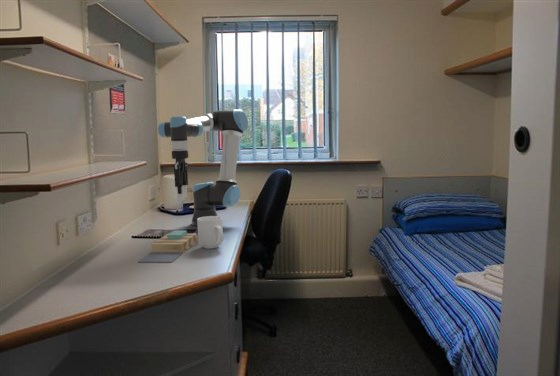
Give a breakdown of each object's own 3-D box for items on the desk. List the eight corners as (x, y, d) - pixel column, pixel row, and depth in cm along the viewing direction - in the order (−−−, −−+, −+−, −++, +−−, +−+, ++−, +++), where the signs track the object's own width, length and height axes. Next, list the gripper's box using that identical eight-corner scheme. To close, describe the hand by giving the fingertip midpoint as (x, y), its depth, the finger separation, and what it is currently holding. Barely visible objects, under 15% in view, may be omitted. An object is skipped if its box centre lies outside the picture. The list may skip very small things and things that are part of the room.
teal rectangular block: (174, 234, 213) (174, 230, 213) (186, 234, 212) (186, 230, 212) (167, 239, 204) (167, 234, 204) (180, 239, 203) (180, 234, 203)
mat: (151, 253, 197) (151, 252, 197) (183, 253, 195) (183, 252, 195) (138, 262, 183) (137, 261, 183) (171, 262, 181) (171, 261, 181)
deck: (168, 241, 216) (167, 233, 216) (197, 241, 215) (196, 233, 214) (151, 253, 197) (151, 244, 196) (183, 253, 195) (182, 244, 194)
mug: (233, 248, 201) (232, 219, 199) (212, 253, 194) (210, 222, 192) (214, 242, 212) (213, 214, 210) (193, 247, 205) (192, 218, 203)
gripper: (178, 149, 222) (180, 197, 225) (165, 151, 205) (168, 202, 208) (193, 149, 221) (195, 197, 224) (181, 150, 204) (184, 202, 207)
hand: (182, 199), depth 216 cm, fingers open, 4 cm apart
